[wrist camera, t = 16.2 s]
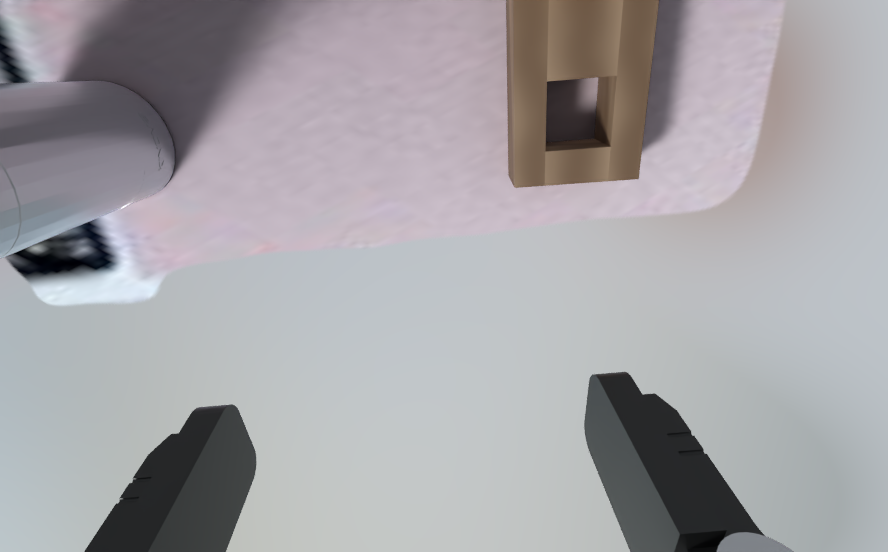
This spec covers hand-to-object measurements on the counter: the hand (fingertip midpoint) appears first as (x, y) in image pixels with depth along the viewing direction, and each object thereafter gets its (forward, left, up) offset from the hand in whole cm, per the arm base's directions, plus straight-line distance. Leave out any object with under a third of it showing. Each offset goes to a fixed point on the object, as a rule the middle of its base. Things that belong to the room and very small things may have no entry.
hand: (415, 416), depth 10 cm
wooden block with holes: (+10, +8, -28) cm, 31 cm away
